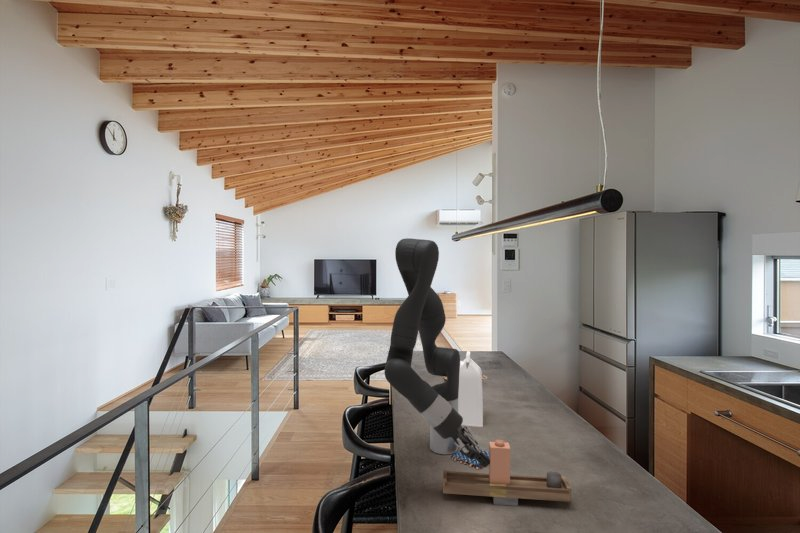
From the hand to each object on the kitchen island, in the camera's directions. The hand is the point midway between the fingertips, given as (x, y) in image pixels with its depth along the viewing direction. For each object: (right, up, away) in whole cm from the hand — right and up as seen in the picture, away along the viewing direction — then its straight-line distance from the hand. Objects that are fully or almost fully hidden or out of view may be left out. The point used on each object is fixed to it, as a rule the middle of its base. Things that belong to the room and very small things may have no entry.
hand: (487, 464), depth 111 cm
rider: (+3, -5, 0) cm, 6 cm away
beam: (+4, -9, 0) cm, 10 cm away
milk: (+3, -8, +53) cm, 54 cm away
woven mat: (0, -9, +21) cm, 23 cm away
